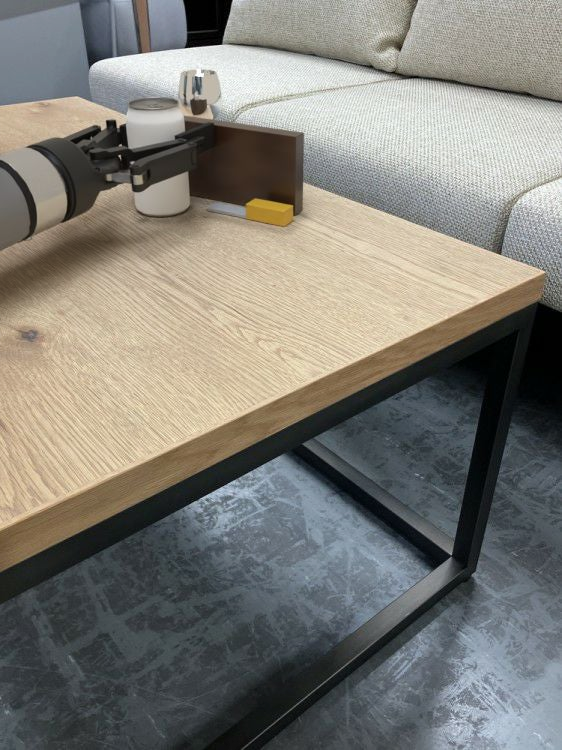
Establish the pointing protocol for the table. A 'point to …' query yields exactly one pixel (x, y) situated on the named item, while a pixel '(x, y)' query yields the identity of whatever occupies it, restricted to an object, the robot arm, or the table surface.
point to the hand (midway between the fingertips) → (184, 129)
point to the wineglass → (200, 94)
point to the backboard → (249, 164)
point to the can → (151, 126)
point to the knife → (258, 211)
